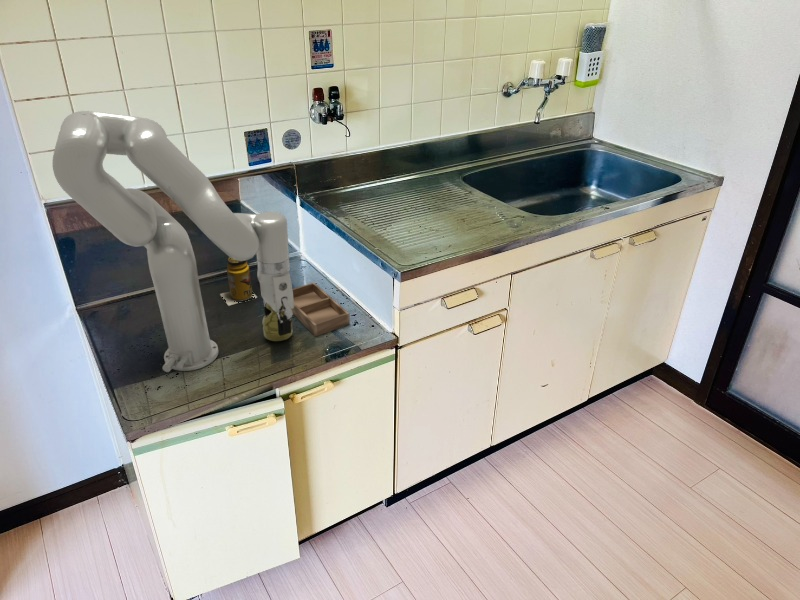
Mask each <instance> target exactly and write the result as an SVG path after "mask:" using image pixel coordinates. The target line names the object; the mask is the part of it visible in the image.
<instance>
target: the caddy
mask: <svg viewBox="0 0 800 600" xmlns="http://www.w3.org/2000/svg"><path fill="white" fill-rule="evenodd" d="M292 290H293V298H294V308H293V309H291V310H292V312H293V315H292V316H294V317H296V319H297V320H298V321H299V322H300V323H301V324H302V325H303V326H304V327H305V328H306V329H307V330H308V331H309V332H310V333H311V334H312V335H313V336H314V337H318V336H322V335H324V334H326V333H327V334H328V333H330V332H332V331H335V330H338V329H341V328H344V327H347V326H349V325H351V322H350V321H351V320H350V313H349V311H347V310H346V309H345V308H344V307H343V306H341V304H339V303H338V302H337V301H336V300H335V299H334V298H332V297H331V296H330V295H329V294H328V293H327V292H326V291H325V290H323V289H322V288H321V287H320V286H318V285H317V283H316V282H311V283H308V284H305V285H302V286H298V287H295V288H292Z"/></svg>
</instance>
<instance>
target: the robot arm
mask: <svg viewBox="0 0 800 600" xmlns="http://www.w3.org/2000/svg"><path fill="white" fill-rule="evenodd" d="M59 129H60V130H59V132H58V136H57V140H56V143H55V146H54V151H53V155H52V171H53V174H54V178H55V180H56V182H57V184H58V186H59V187H61V189H62V190H63V191H64V192H65V193H66V194H67V195H68V196H69V197H70V198H71V199H72V200H73V201H74V202H76V203H77V204H78V205H79V206H81V208H83V209H84V210H85V211H86V212H87V213H88V214H90V216H92V217H93V218H94V220H96V221H97V222H98V223H99V224H100V225H102V226H103V227H104V228H105V229H106V230H107V231H109V232H110V233H111V234H112V235H113V236H114V237H115V238H117V239H118V240H119V242H122V243H123V244H125V245H128V246H131V247H136V248H137V247H144V248H146V255H147V262H148V268H149V273H150V277H151V279H152V283H153V284H152V285H153V287H154V291H155V296H156V299H157V305H158V307H159V311H160V317H161V321H162V324H163V329H164V332H165V337H166V342H167V346H168V348H167V350H165V352H164V355H163V359H164V364H163V365H162V371H164V372H166V373H169V372H171V370H174V371H180V372H189V371H195V370H199V369H202V368H204V367H207V366H208V365H210V364H211V363H213V362H214V361H215V360H216V358H217V357H218V355H219V347H218V344H217V343H216V342H215V341H214V340H212V339H210V334H209V329H208V323H207V319H206V318H207V317H206V313H205V307H204V302H203V297H202V292H201V286H200V281H199V274H198V273H199V272H198V267H197V260H196V256H195V252H194V250H193V249H194V248H193V246H192V243H191V239H190V236H189V235H188V232H187V231H186V229H185V228H184V227H183V226H182V225H181V223H180V222H178V220H176V218H174V217H173V216H172V215H171V214H170V213H169V212H168V211H167V210H166V209H165V208H163V206H162V205H161V204H159V203H158V201H156V200H155V199H154V198H153V197H152V196H150V195H149V194H148V193H146V191H143V190H140V189H137V188H131V187H130V188H129V187H128V188H125V187H124V186H123V185H122V184H121V183H120V182H119V181H118V180H117V179H116V178H115V177H113V176H112V175H110V173H108V172H106V170H105V168H104V167H103V163H104V160H105V158H106V155H116V156H127V158H128V161H130V162H131V163H132V164H133V165H134V166H135V167H136V168H137V170H139V171H140V172H141V173H142V174H143V175H144V176H146V178H148V179H149V181H151V182H152V183H153V184H154V185H155V186H156V187H158V188H159V189H160V190H161V191H162V192H163V193H164V194H165V195H166V196H168V198H170V200H172V201H173V202H174V204H176V205H177V206H178V207H179V208H180V209H181V211H182V212H183V213H184V214H185V215H186V216H187V217H188V218H189V220H190V221H191V222H193V223H194V224H195V225H196V226H197V228H198V229H199V230H200V231H201V232H202V233H203V234H204V235H205V236H206V237H207V238H208V239H209V240H210V241H211V242H212V244H214V245H215V246H216V247H218V248H219V249H220V250H221V251H222V252H223V253H224V254H225V255H227V256H228V258H229V257H231V258H233V259H235V260H239V261H245V260H247V261H248V260H250V259H253V258H254V257H255V256H256V264H257V271H258V272H259V273H260V282H259V287H260V288H259V289H260V295H261V298H262V299H263V302H262V304H263V306H264V307H263V310H264V311H263V312H264V317H265V316H266V315H267V314H269V313H270V312H271V310H269V309H268V308H267V307H266V303H267V304H268V305H269V306H270V307H271V308H272V309H273V310H274V311H275V312H277V315H278V319H279V321H278V334H279V335H280V336H282V335H285V334H288V333H291V318H292V319H293V316H294V315H293V312H292V310H291V309H293V308H294V298H293V290H292V289H293V284H292V279H291V276H290V275H291V274H290V269H291V267H290V252H289V251H290V250H289V234H288V232H289V231H288V220H287V218H286V216H285V215H284V214H282V213H281V212H277V211H265V212H260V213H242V212H232V210H231V209H230V208H229V206H227V204H226V203H225V202H224V200H223V198H221V196H220V195H219V193H218V191H217V189H215V187H214V185H213V184H212V182H211V181H210V179H209V178H208V177H207V175H205V173H203V172H202V171H201V170H200V169H199V168H198V166H196V165H195V164H194V163H193V162H192V161H191V160H190V159H189V158H188V157H187V156H186V155H185V154H184V153H183V152H182V151H181V150H180V149H179V148H178V147H177V146H176V145H175V144H174V143H173V142H172V141H171V140H170V139H169V138H168V137H167V133H166V131H165V129H164V128H163V126H162V125H161V124H159V123H158V122H156V121H154V120H152V119H149V118H146V117H140V116H131V115H124V114H115V113H106V112H100V111H99V112H98V111H91V110H90V111H89V110H80V111H74V112H72V113H71V114H68V115H67V116H66V117H65V118H64V119H63V120H62V123H61V126H60V128H59ZM282 306H283V308H284V309H280V308H281V307H282ZM279 309H280V310H279ZM281 312H285V315H284V316H283V317H282V316H281Z"/></svg>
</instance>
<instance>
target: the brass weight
mask: <svg viewBox="0 0 800 600" xmlns="http://www.w3.org/2000/svg"><path fill="white" fill-rule="evenodd" d="M266 307H267V308H268V309H269V310H271V312H270V313H269V314H267V315H266V316H265V315H264V316H263V318H262V325H263V327H262V331H263V336H264V338H265V339H267V340H269V341H270V342H271V341H272V342H282V341H286V340H288V339H289V338H291V336H293V317H292V318H291V333H288V334H285V335H282V336H280V335H279V334H278V321H279V319H278V315H277V312H275V311H274V310H273V309H272V308H271V307H270V306H269V305H268V304H267V303H266ZM280 309H284V308H283V306H282V307H281V308H280ZM280 309H279V310H280ZM284 315H285V311H283V312H281V316H282V317H283V316H284Z"/></svg>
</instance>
